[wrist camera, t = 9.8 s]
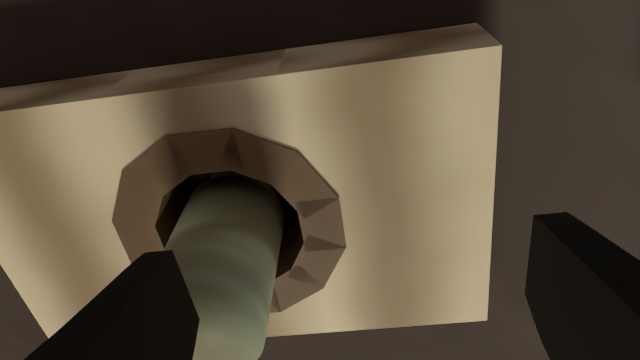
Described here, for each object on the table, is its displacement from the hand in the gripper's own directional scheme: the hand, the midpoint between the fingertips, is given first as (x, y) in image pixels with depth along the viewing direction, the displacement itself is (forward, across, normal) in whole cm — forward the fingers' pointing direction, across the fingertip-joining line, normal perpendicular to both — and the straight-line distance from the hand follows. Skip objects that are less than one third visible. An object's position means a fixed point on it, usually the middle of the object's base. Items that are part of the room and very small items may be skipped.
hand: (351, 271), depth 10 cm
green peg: (+10, +5, +4) cm, 12 cm away
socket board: (+10, +5, +4) cm, 12 cm away
